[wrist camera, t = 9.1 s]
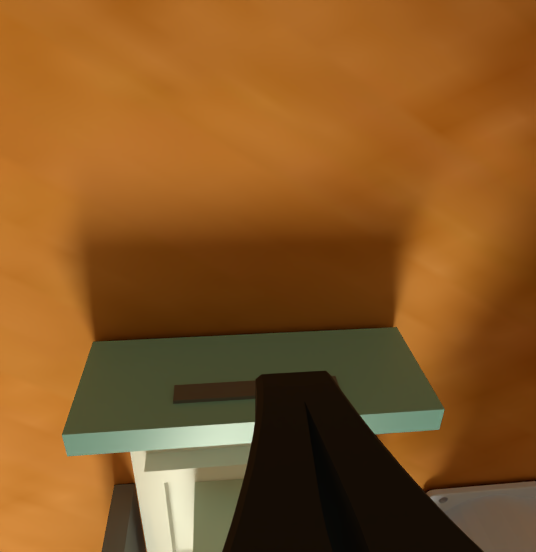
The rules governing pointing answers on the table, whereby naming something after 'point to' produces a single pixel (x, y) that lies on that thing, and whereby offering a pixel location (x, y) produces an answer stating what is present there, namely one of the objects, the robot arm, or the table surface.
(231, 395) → the tray
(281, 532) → the robot arm
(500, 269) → the table surface
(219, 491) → the block
